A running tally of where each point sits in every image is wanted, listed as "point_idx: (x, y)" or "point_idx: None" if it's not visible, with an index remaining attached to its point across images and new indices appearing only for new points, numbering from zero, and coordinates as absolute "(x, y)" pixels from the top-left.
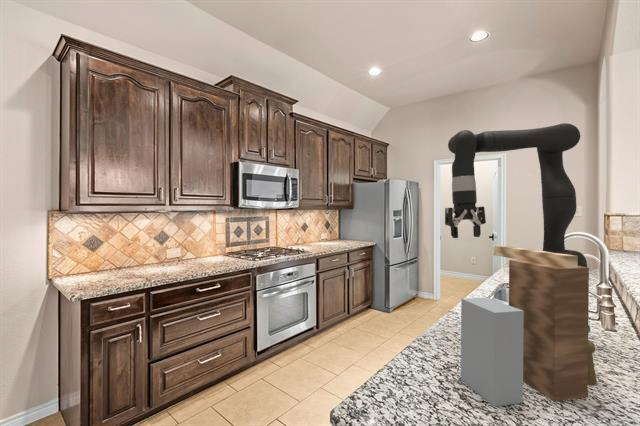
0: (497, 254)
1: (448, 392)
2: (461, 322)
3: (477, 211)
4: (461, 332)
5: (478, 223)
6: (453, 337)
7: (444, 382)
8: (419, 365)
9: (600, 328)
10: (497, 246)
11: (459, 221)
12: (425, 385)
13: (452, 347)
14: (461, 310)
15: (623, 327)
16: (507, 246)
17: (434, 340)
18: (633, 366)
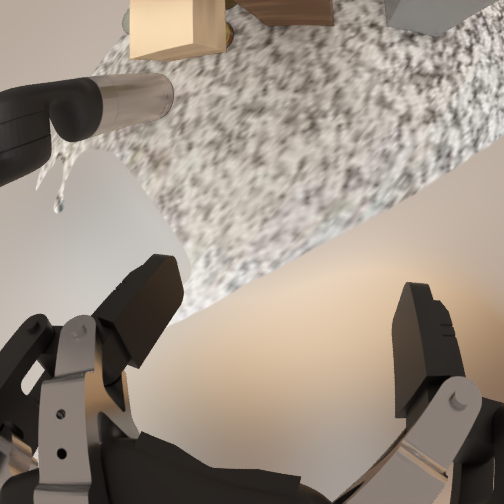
0: (220, 20)
1: (472, 24)
2: (475, 12)
3: (16, 458)
4: (466, 17)
5: (86, 340)
6: (331, 180)
7: (465, 44)
8: (475, 103)
9: (66, 165)
10: (193, 7)
11: (411, 450)
12: (494, 53)
13: (370, 138)
14: (486, 6)
15: (47, 165)
16: (135, 4)
17: (383, 180)
18: (119, 39)
